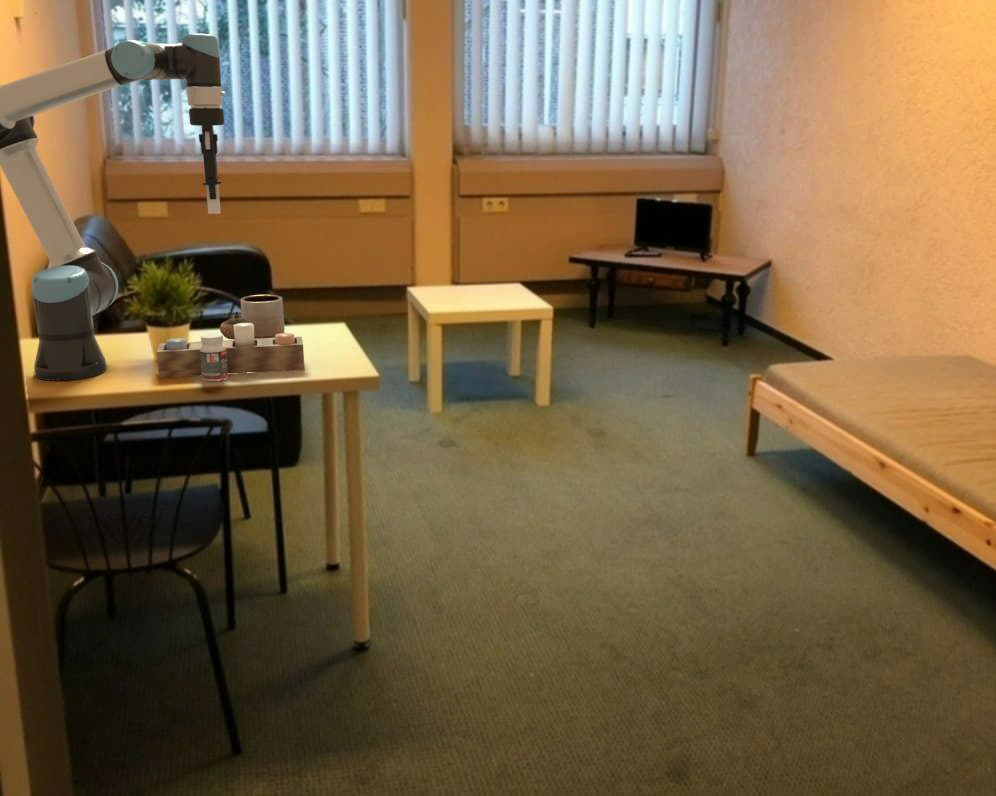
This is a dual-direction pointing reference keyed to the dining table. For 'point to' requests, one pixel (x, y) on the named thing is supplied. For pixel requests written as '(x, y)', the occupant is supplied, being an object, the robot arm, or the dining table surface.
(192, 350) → the wooden slotted rack
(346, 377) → the dining table surface
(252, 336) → the cream block
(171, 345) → the grey cylinder
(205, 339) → the pill bottle
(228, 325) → the acorn
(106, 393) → the dining table surface
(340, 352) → the dining table surface
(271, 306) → the planter
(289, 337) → the pink cylinder
